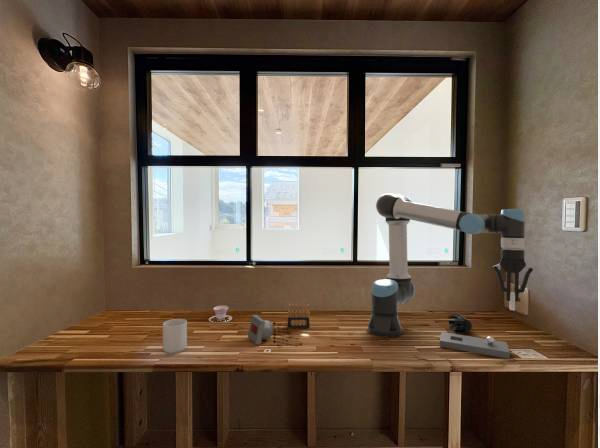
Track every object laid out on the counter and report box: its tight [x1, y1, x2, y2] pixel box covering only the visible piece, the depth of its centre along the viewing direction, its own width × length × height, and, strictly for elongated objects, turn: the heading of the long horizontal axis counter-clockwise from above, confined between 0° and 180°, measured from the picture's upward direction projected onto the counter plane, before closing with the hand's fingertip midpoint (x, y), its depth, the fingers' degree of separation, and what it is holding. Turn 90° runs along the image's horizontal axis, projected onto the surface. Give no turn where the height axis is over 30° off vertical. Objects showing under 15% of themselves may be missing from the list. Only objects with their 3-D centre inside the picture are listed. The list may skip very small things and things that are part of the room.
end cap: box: [448, 312, 473, 335], centre depth 147 cm, size 10×7×7 cm
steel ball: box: [485, 336, 496, 344], centre depth 124 cm, size 3×3×3 cm
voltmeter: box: [247, 314, 302, 347], centre depth 131 cm, size 27×11×10 cm, turn 66°
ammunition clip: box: [286, 302, 311, 329], centre depth 150 cm, size 11×2×12 cm, turn 89°
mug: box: [162, 318, 188, 355], centre depth 125 cm, size 12×9×11 cm
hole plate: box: [439, 331, 511, 360], centre depth 127 cm, size 24×11×2 cm, turn 62°
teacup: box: [208, 305, 233, 324], centre depth 162 cm, size 12×12×6 cm
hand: (512, 309), depth 120 cm, fingers closed
